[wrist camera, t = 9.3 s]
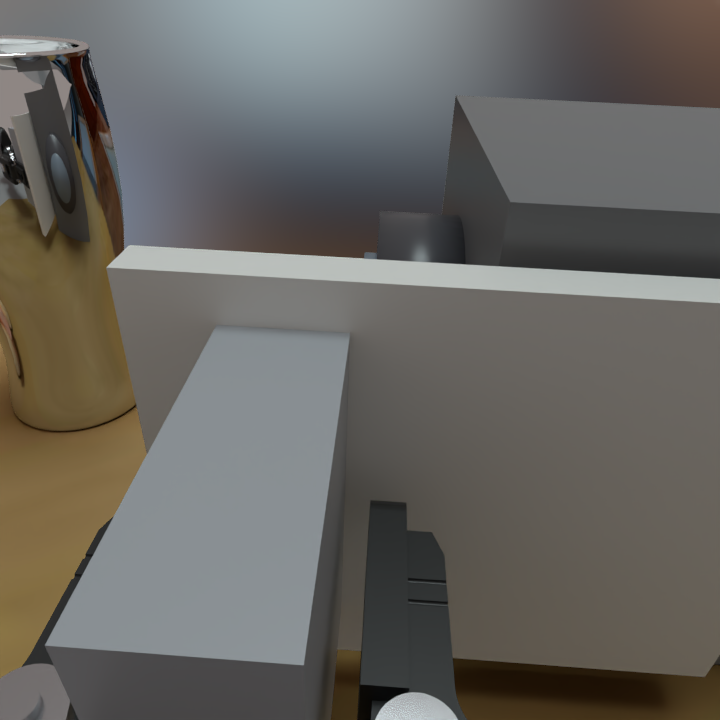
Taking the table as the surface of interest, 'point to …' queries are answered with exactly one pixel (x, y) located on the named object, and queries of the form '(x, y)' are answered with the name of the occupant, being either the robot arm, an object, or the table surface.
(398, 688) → the robot arm
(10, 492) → the table surface
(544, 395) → the side door
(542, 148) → the box
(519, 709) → the table surface
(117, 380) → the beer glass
